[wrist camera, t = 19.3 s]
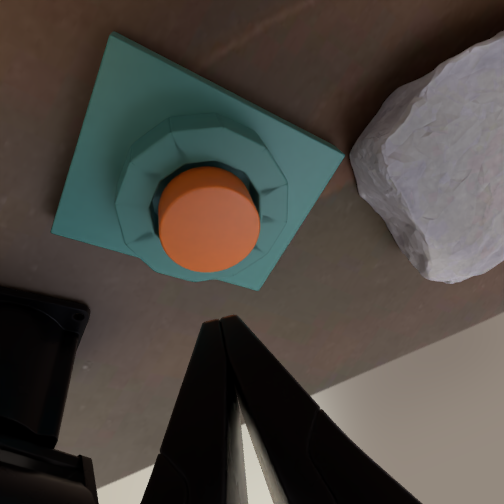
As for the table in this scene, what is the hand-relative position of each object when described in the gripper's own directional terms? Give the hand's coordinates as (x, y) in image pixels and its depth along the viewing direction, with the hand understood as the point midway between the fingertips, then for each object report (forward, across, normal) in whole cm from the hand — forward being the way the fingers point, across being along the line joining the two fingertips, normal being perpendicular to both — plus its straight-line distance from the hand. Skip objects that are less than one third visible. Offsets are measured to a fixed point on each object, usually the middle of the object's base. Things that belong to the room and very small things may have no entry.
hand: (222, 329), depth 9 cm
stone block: (+10, -14, 0) cm, 17 cm away
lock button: (+7, 0, 0) cm, 7 cm away
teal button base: (+9, 0, 0) cm, 9 cm away
